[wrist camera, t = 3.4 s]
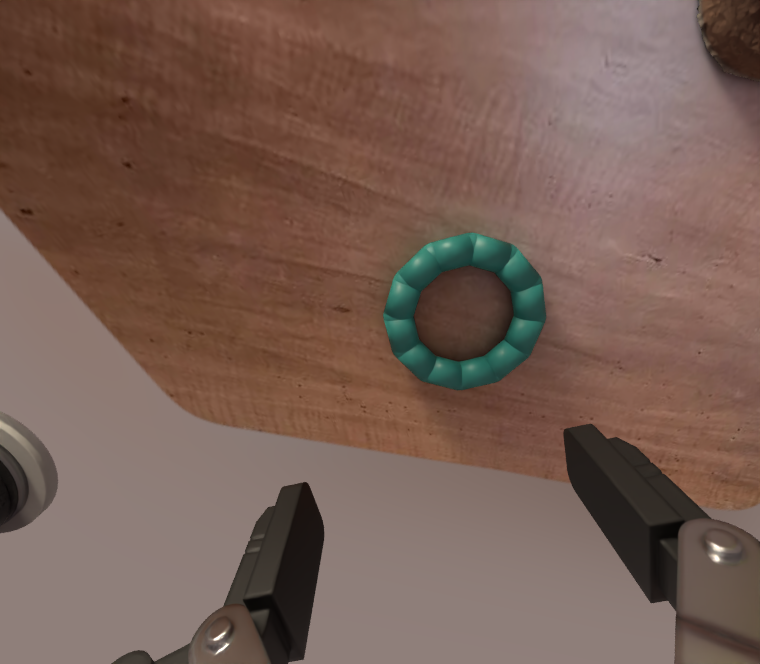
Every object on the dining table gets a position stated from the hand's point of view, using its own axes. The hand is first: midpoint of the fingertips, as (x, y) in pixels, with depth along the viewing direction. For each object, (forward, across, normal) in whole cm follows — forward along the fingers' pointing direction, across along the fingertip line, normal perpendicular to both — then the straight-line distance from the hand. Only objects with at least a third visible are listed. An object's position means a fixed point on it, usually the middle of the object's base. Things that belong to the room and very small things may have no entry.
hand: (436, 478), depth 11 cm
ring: (+12, -4, -1) cm, 13 cm away
